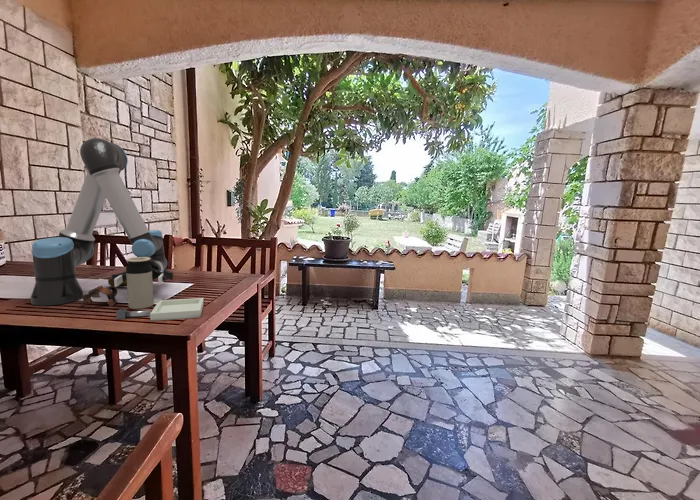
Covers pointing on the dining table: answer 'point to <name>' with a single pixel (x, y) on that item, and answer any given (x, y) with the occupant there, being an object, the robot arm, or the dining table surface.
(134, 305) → the travel mug
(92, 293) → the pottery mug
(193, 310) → the tray
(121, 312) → the metal bolt
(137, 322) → the dining table surface
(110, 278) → the olive green oval lump
